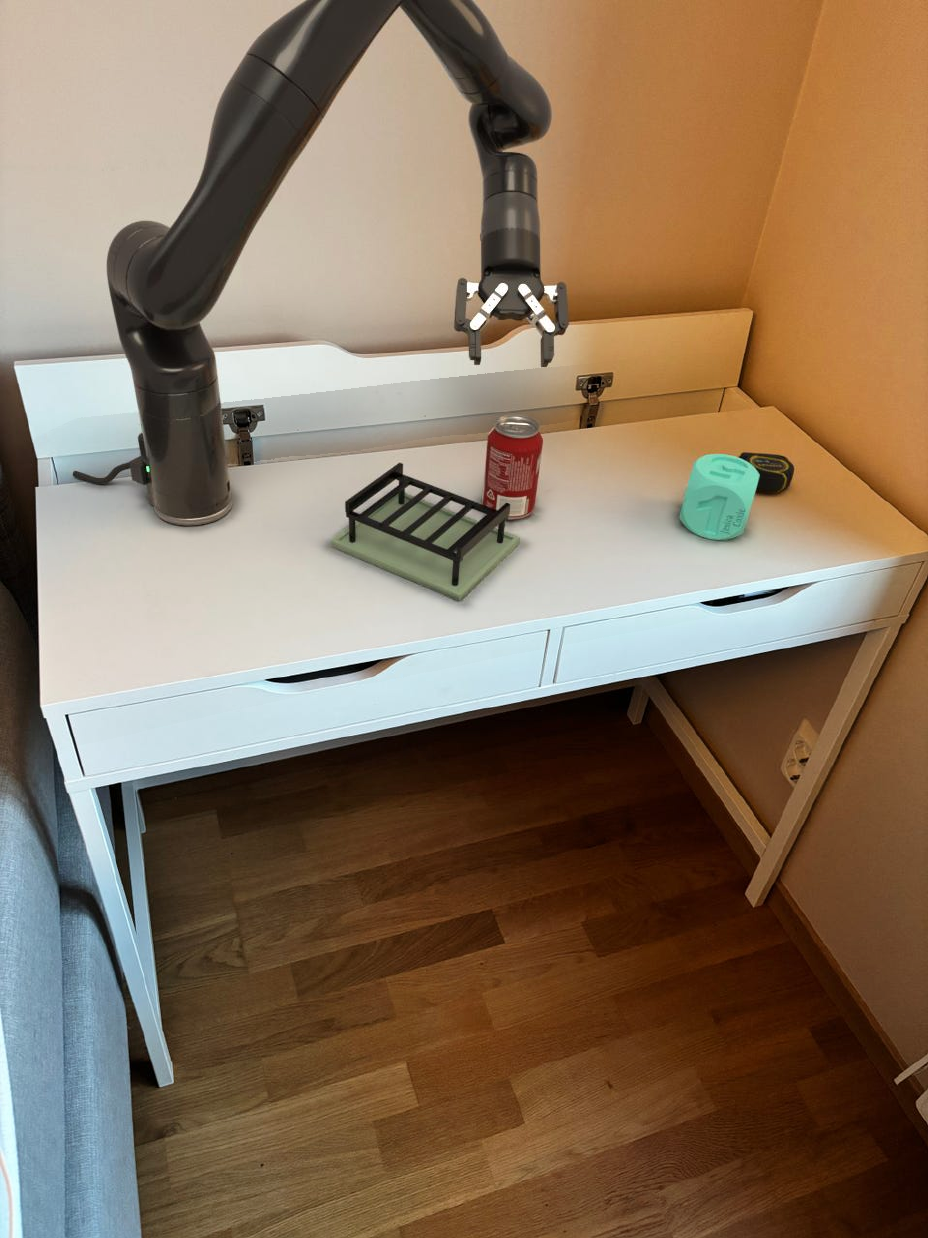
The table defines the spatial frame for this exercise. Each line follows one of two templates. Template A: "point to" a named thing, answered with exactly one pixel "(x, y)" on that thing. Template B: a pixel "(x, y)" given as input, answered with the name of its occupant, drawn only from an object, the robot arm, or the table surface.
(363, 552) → the drip tray
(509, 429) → the soda can
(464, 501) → the drying rack
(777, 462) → the tape measure
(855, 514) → the table surface
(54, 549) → the table surface
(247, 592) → the table surface
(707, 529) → the decorative dice
